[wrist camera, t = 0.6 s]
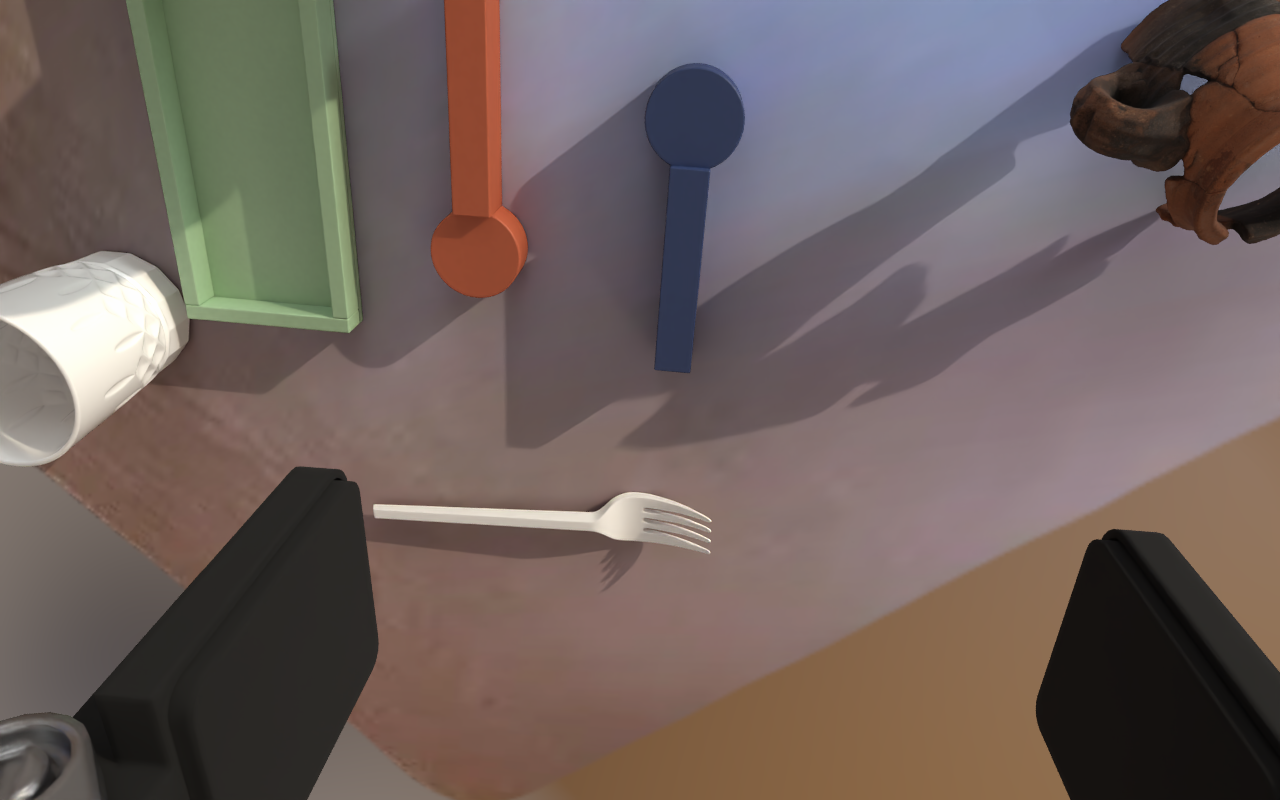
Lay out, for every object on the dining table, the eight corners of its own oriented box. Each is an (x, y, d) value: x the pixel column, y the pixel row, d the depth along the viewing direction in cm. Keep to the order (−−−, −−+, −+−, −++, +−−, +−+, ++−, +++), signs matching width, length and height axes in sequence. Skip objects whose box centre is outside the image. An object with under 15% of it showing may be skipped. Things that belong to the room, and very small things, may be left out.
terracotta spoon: (430, -26, 37) (411, -26, 35) (528, -19, 37) (516, -18, 35) (444, 281, 44) (429, 297, 41) (528, 288, 43) (517, 305, 41)
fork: (372, 482, 50) (360, 500, 48) (711, 494, 48) (711, 513, 46) (380, 527, 51) (368, 546, 49) (710, 541, 50) (710, 561, 48)
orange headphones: (1332, -55, 34) (1493, 54, 29) (1207, 142, 42) (1319, 255, 37) (1060, -25, 33) (1182, 94, 28) (982, 172, 40) (1067, 294, 36)
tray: (119, -175, 35) (89, -182, 34) (318, -162, 35) (298, -169, 33) (207, 306, 45) (187, 319, 44) (363, 320, 45) (349, 333, 43)
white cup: (188, 245, 44) (53, 314, 35) (213, 381, 47) (97, 475, 38) (42, 232, 44) (-128, 297, 35) (78, 368, 48) (-68, 458, 39)
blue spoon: (716, 355, 44) (715, 375, 42) (632, 348, 44) (628, 367, 42) (748, 66, 38) (751, 72, 35) (651, 59, 38) (647, 64, 36)
